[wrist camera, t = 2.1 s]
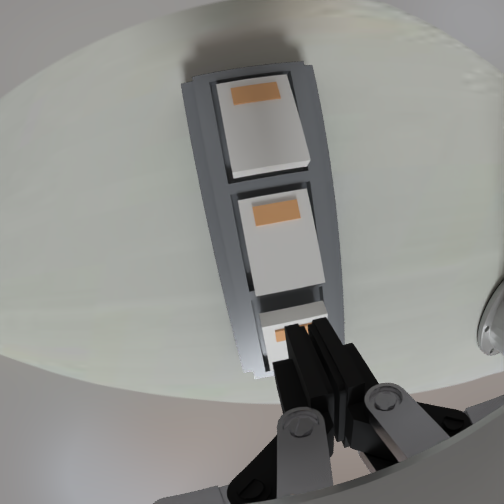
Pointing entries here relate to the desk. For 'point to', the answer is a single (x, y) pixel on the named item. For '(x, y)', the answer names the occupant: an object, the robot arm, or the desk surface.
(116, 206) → the desk surface
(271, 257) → the rocker middle
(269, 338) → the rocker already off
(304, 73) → the rocker switch panel
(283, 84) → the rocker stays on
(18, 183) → the desk surface
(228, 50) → the desk surface
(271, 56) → the desk surface
